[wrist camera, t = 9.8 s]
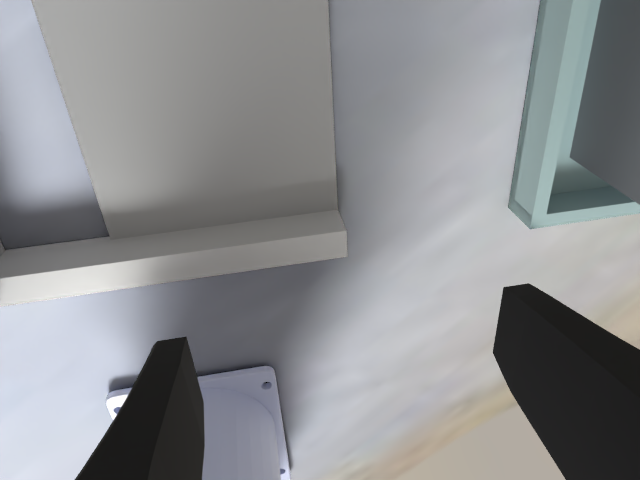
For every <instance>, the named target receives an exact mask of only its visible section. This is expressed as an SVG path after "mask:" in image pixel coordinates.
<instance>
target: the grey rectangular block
mask: <svg viewBox="0 0 640 480" xmlns="http://www.w3.org/2000/svg"><path fill="white" fill-rule="evenodd" d="M570 158H571V159H573V160H574V161H576V162H577V163H579V164H580V165H581V166H583V167H584V168H586V169H587V170H589V171H590V172H592V173H593V174H595V175H596V176H598V177H599V178H601V179H602V180H604V181H605V182H607V183H608V184H610V185H611V186H613V187H614V188H616V189H617V190H618V191H620V192H621V193H623V194H624V195H626V196H627V197H629V198H630V199H632V200H633V201H635V202H636V203H638V204H639V205H640V0H601V2H600V7H599V12H598V17H597V22H596V27H595V32H594V37H593V42H592V47H591V52H590V57H589V62H588V67H587V72H586V77H585V82H584V87H583V92H582V97H581V102H580V107H579V112H578V117H577V122H576V127H575V132H574V137H573V142H572V147H571V152H570Z"/></svg>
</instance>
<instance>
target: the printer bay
mask: <svg viewBox="0 0 640 480" xmlns="http://www.w3.org/2000/svg"><path fill="white" fill-rule="evenodd" d="M31 1H32V4H33V7H34V10H35V13H36V16H37V19H38V22H39V25H40V28H41V31H42V35H43V38H44V41H45V44H46V47H47V50H48V53H49V56H50V59H51V62H52V65H53V68H54V71H55V74H56V77H57V80H58V83H59V86H60V89H61V92H62V95H63V98H64V101H65V104H66V107H67V110H68V113H69V116H70V119H71V122H72V125H73V128H74V131H75V134H76V137H77V140H78V143H79V146H80V149H81V152H82V155H83V158H84V161H85V164H86V167H87V170H88V173H89V176H90V179H91V182H92V185H93V188H94V192H95V195H96V198H97V201H98V204H99V207H100V210H101V213H102V216H103V219H104V222H105V225H106V228H107V231H108V234H109V236H108V237H100V238H93V239H85V240H78V241H70V242H62V243H55V244H47V245H40V246H32V247H25V248H17V249H10V250H5V249H4V247H3V245H2V243H1V240H0V307H2V306H9V305H16V304H23V303H30V302H37V301H44V300H51V299H58V298H64V297H71V296H78V295H85V294H92V293H99V292H106V291H113V290H120V289H127V288H134V287H141V286H148V285H155V284H162V283H169V282H176V281H183V280H190V279H197V278H203V277H210V276H217V275H224V274H231V273H238V272H245V271H252V270H259V269H266V268H273V267H280V266H287V265H294V264H301V263H308V262H315V261H322V260H329V259H336V258H342V257H348V255H347V230H346V228H345V226H344V223H343V221H342V218H341V216H340V213H339V211H338V200H337V179H336V157H335V136H334V114H333V93H332V72H331V50H330V29H329V7H328V0H31Z"/></svg>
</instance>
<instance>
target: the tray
mask: <svg viewBox="0 0 640 480" xmlns="http://www.w3.org/2000/svg"><path fill="white" fill-rule="evenodd" d="M600 2H601V0H541V1H540V8H539V14H538V20H537V27H536V33H535V40H534V46H533V52H532V59H531V65H530V71H529V78H528V84H527V91H526V97H525V103H524V110H523V116H522V122H521V129H520V135H519V142H518V148H517V154H516V161H515V167H514V173H513V180H512V186H511V193H510V199H509V205H508V208H509V209H510V210H511V211H512V212H513V213H514V214H515V215H516V216H517V217H518V218H519V219H520V220H521V221H522V222H523V223H524V224H525V225H526V226H527V227H528V228H529V229H534V228H541V227H548V226H555V225H562V224H569V223H576V222H583V221H590V220H597V219H604V218H611V217H618V216H625V215H632V214H639V213H640V205H639V204H638V203H636V202H635V201H633V200H632V199H630V198H629V197H627V196H626V195H624V194H623V193H621V192H620V191H618V190H617V189H616V188H614V187H613V186H611V185H610V184H608V183H607V182H605V181H604V180H602V179H601V178H599V177H598V176H596V175H595V174H593V173H592V172H590V171H589V170H587V169H586V168H584V167H583V166H581V165H580V164H579V163H577V162H576V161H574V160H573V159H571V158H570V152H571V147H572V142H573V137H574V132H575V127H576V122H577V117H578V112H579V107H580V102H581V97H582V92H583V87H584V82H585V77H586V72H587V67H588V62H589V57H590V52H591V47H592V42H593V37H594V32H595V27H596V22H597V17H598V12H599V7H600Z"/></svg>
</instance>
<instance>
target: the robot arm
mask: <svg viewBox="0 0 640 480" xmlns="http://www.w3.org/2000/svg"><path fill="white" fill-rule="evenodd" d="M493 354H494V356H495V358H496V361H497V363H498V365H499V367H500V370H501V372H502V374H503V376H504V378H505V380H506V383H507V385H508V387H509V389H510V391H511V393H512V394H513V396H514V398H515V399H516V401H517V403H518V404H519V406H520V407H521V409H522V411H523V412H524V414H525V415H526V417H527V419H528V420H529V422H530V423H531V425H532V427H533V428H534V429H535V431H536V433H537V434H538V436H539V438H540V439H541V441H542V442H543V444H544V446H545V447H546V449H547V450H548V452H549V453H550V455H551V457H552V458H553V460H554V461H555V463H556V464H557V466H558V468H559V469H560V471H561V473H562V474H563V476H564V477H565V479H566V480H640V350H639V349H637V348H636V347H634V346H632V345H630V344H629V343H627V342H625V341H623V340H622V339H620V338H618V337H616V336H615V335H613V334H611V333H610V332H608V331H606V330H605V329H603V328H601V327H600V326H598V325H596V324H595V323H593V322H592V321H590V320H588V319H587V318H585V317H583V316H582V315H580V314H579V313H577V312H575V311H574V310H572V309H570V308H569V307H567V306H566V305H564V304H562V303H561V302H559V301H558V300H556V299H554V298H553V297H551V296H549V295H548V294H546V293H544V292H543V291H541V290H539V289H538V288H536V287H534V286H532V285H531V284H522V285H516V286H509V287H504V288H503V294H502V300H501V306H500V312H499V318H498V324H497V330H496V336H495V342H494V348H493ZM264 382H269V383H264ZM106 406H107V408H108V411H109V413H110V415H111V418H112V420H113V422H112V424H111V425H110V427H109V429H108V430H107V432H106V433H105V435H104V437H103V438H102V440H101V441H100V443H99V444H98V446H97V447H96V449H95V450H94V452H93V453H92V455H91V456H90V458H89V460H88V461H87V463H86V464H85V466H84V467H83V469H82V470H81V472H80V473H79V474H78V476H77V477H76V479H75V480H291V474H290V468H289V461H288V455H287V448H286V441H285V435H284V428H283V422H282V415H281V408H280V402H279V395H278V389H277V382H276V376H275V371H274V369H273V368H272V367H269V366H261V367H255V368H249V369H243V370H236V371H230V372H224V373H218V374H212V375H206V376H200V377H197V375H196V371H195V367H194V364H193V360H192V356H191V352H190V349H189V345H188V341H187V338H186V337H182V338H175V339H169V340H162V341H157V342H156V344H155V345H154V346H153V348H152V350H151V352H150V354H149V356H148V358H147V360H146V362H145V364H144V366H143V368H142V370H141V372H140V374H139V376H138V378H137V380H136V381H135V383H134V385H133V387H132V388H127V389H121V390H115V391H112V392H110V393H109V394H108V395H107V398H106ZM119 407H121V408H119Z"/></svg>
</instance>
